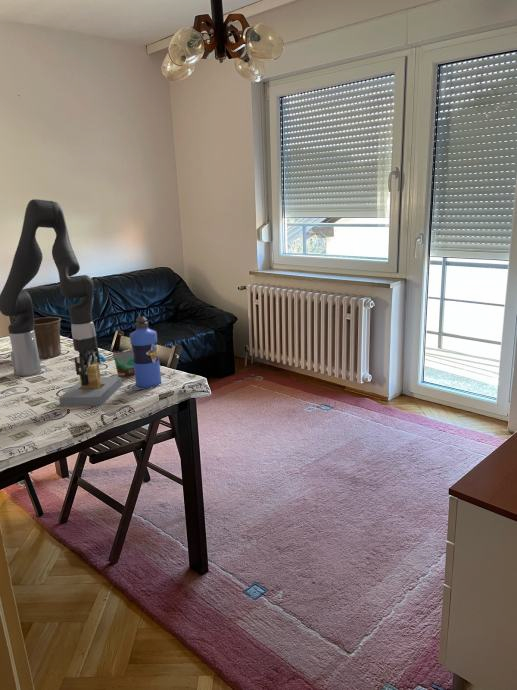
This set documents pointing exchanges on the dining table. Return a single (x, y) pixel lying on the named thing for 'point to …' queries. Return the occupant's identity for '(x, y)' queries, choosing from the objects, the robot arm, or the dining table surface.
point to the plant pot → (48, 336)
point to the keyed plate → (90, 393)
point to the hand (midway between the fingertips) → (90, 380)
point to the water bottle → (145, 355)
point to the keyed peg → (93, 377)
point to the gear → (102, 357)
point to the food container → (124, 363)
